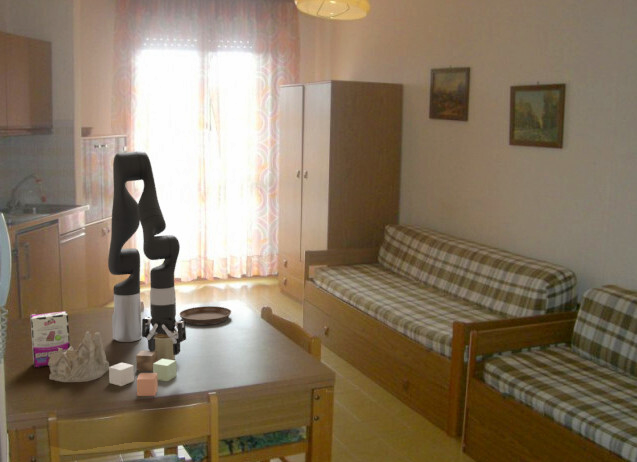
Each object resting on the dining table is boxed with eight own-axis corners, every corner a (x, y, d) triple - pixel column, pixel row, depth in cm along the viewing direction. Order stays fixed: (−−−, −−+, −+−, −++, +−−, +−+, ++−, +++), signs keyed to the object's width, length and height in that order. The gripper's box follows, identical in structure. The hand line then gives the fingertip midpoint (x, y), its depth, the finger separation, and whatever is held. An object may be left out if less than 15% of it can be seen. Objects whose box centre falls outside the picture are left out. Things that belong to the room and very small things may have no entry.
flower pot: (185, 356, 223) (184, 331, 221) (170, 365, 214) (169, 340, 213) (161, 353, 226) (160, 329, 224) (145, 362, 217) (144, 337, 216)
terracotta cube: (137, 396, 189) (136, 379, 189) (140, 389, 194) (140, 373, 193) (154, 395, 190) (154, 379, 189) (157, 389, 195) (157, 372, 194)
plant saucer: (169, 319, 268) (169, 311, 268) (212, 310, 282) (212, 303, 282) (197, 330, 253) (197, 322, 253) (241, 320, 267) (241, 312, 267)
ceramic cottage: (116, 365, 213) (111, 321, 211) (89, 386, 197) (83, 338, 195) (73, 364, 217) (68, 320, 214) (43, 384, 201) (36, 337, 198)
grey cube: (109, 383, 199) (108, 367, 198) (122, 377, 203) (121, 362, 202) (121, 386, 196) (120, 370, 196) (133, 381, 201) (133, 365, 200)
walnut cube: (136, 370, 210) (136, 355, 209) (142, 365, 215) (141, 350, 214) (152, 371, 209) (151, 356, 208) (157, 365, 214) (156, 350, 213)
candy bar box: (69, 358, 220) (66, 310, 217) (71, 363, 215) (68, 314, 213) (32, 363, 215) (29, 314, 212) (33, 368, 210) (31, 318, 208)
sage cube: (153, 379, 202) (153, 363, 202) (162, 373, 207) (162, 358, 206) (167, 381, 201) (167, 365, 200) (176, 376, 205) (176, 360, 204)
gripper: (135, 301, 199) (137, 353, 201) (176, 306, 194) (177, 359, 196) (150, 296, 206) (151, 346, 208) (189, 300, 201) (191, 351, 203)
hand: (164, 352), depth 202 cm, fingers open, 8 cm apart
